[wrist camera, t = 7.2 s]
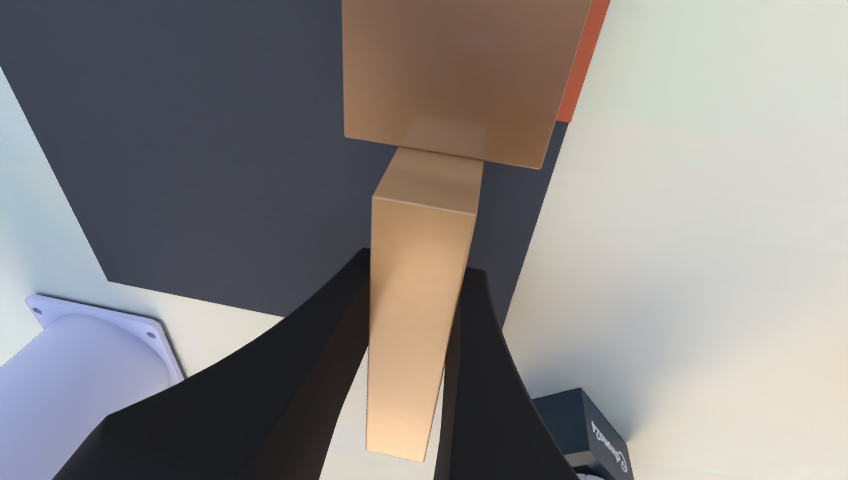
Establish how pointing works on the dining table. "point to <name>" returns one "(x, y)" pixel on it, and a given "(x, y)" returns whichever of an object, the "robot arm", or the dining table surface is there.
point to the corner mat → (231, 145)
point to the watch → (585, 436)
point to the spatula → (440, 167)
